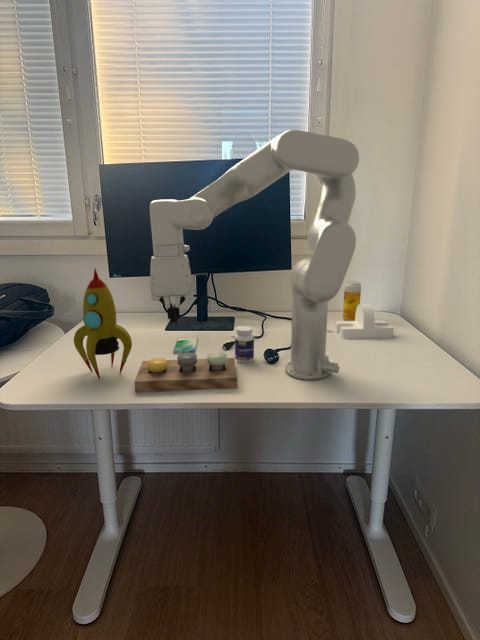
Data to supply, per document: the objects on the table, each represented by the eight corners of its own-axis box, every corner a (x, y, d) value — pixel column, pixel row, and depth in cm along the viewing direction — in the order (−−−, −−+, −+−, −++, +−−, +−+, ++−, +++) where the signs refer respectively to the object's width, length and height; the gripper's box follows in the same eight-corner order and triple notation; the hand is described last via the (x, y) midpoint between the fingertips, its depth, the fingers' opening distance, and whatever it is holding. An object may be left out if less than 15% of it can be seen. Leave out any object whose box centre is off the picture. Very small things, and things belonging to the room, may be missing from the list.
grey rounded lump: (197, 368, 121) (197, 352, 120) (197, 376, 116) (196, 359, 115) (178, 369, 121) (177, 353, 120) (177, 376, 116) (176, 360, 115)
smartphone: (198, 337, 152) (195, 352, 138) (198, 339, 152) (195, 355, 138) (177, 337, 152) (172, 352, 138) (177, 339, 152) (172, 355, 138)
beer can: (339, 318, 173) (341, 281, 169) (353, 317, 175) (355, 280, 171) (347, 323, 168) (350, 284, 163) (361, 321, 169) (364, 283, 165)
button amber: (168, 373, 121) (167, 357, 120) (167, 381, 116) (166, 365, 115) (149, 374, 121) (148, 358, 120) (147, 382, 116) (145, 365, 115)
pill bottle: (237, 364, 129) (237, 331, 127) (232, 357, 135) (232, 326, 132) (256, 361, 131) (256, 330, 128) (250, 355, 136) (250, 324, 133)
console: (234, 367, 127) (234, 357, 126) (237, 388, 113) (237, 377, 113) (143, 370, 125) (142, 360, 124) (135, 392, 112) (134, 381, 111)
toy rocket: (91, 386, 116) (80, 274, 107) (76, 370, 126) (64, 266, 116) (135, 375, 123) (128, 269, 114) (117, 360, 133) (110, 262, 124)
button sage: (226, 367, 122) (226, 351, 121) (227, 375, 117) (227, 358, 116) (207, 368, 122) (207, 352, 120) (207, 375, 117) (207, 359, 115)
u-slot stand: (393, 338, 151) (396, 307, 148) (341, 339, 150) (343, 308, 147) (383, 329, 160) (386, 301, 157) (334, 330, 160) (336, 301, 156)
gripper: (199, 247, 113) (203, 316, 118) (140, 250, 112) (147, 318, 118) (198, 251, 106) (202, 324, 111) (135, 254, 105) (143, 327, 111)
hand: (174, 321), depth 114 cm, fingers closed
